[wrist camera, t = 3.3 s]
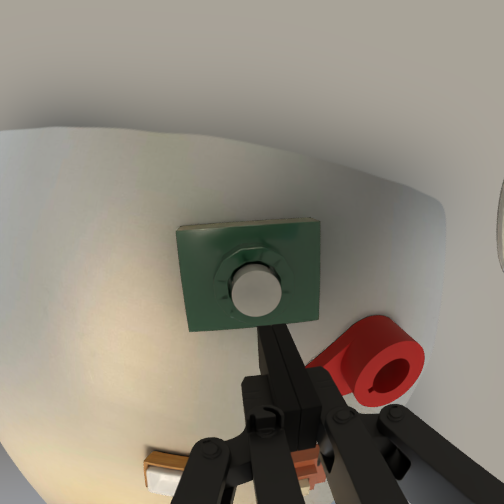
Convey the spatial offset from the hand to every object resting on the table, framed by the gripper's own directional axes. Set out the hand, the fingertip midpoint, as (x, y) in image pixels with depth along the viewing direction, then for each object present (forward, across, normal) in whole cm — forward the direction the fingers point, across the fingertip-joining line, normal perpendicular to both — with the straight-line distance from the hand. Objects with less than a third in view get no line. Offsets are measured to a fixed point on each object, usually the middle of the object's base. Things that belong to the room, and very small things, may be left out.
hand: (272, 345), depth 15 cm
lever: (+15, +11, -14) cm, 23 cm away
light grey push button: (+10, 0, 0) cm, 10 cm away
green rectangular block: (+14, 0, 0) cm, 14 cm away
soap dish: (+15, -13, -34) cm, 39 cm away
